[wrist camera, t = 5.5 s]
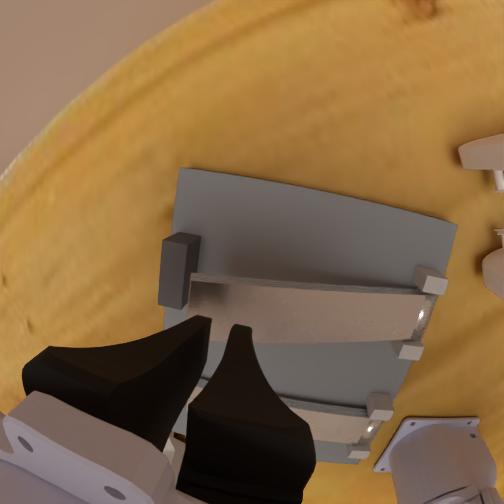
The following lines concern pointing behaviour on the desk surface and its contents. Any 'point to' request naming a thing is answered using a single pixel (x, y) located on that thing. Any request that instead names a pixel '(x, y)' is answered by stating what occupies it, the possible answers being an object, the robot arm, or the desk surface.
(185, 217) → the base plate
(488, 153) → the cable organizer
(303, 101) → the desk surface
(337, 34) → the desk surface
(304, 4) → the desk surface
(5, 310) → the desk surface
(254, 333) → the front strap
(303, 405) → the strip
